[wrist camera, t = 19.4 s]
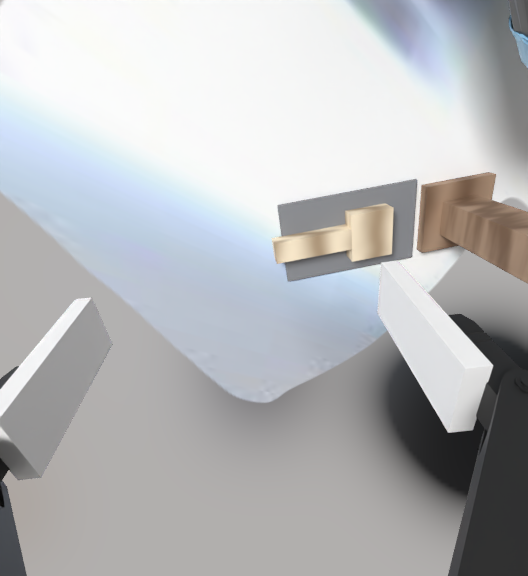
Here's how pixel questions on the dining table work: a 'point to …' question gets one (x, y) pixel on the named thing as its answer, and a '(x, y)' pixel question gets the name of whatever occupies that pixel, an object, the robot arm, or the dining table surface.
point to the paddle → (342, 237)
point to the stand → (474, 222)
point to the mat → (333, 214)
